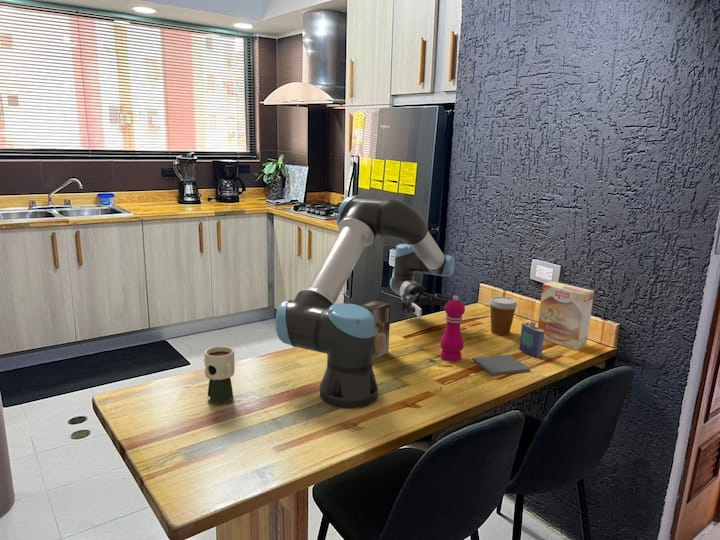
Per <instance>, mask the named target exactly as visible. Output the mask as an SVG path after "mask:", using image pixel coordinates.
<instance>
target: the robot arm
mask: <svg viewBox="0 0 720 540" xmlns="http://www.w3.org/2000/svg"><path fill="white" fill-rule="evenodd" d="M337 210H338V213H337V215H336V224H337V227H338V228H337V229H338V232H339V233H338V235H337V236H336V238H335V240H334V242H333V244H332V245H331V247H330V248H329V250H328V252H327V253H326V255H325V257H324V259H323V260H322V262H321V264H320V266H319V267H318V269H317V271H316V272H315V274H314V276H313V278H312V280H311V281H310V283H309V285H308V286H307V288H304V289H301V290H299V291H298V293H297V294H296V296H295V297H294V299H286V300H284V301H282V302H281V303H280V304H279V306H278V308H277V310H276V314H275V331H276V335H277V337H278V339H279V341H281V342H282V343H283V344H286V345H289V346H291V347H294V348H300V349H304V350H309V351H313V352H317V353H322V354H326V356H327V357H326V359H327V360H326V369H325V371H324V374H323V377H322V379H321V382H320V385H319V397H320V399H321V400H322V402H324V403H326V404H327V405H329V406H332V407H336V408H339V409H359V408H365V407H368V406H370V405H373V404H374V403H375V402H377V400H378V398H379V397H378V396H379V385H378V382H377V379H376V375H375V373H374V369H373V366H374V365H373V361H374V360H373V347H374V334H375V328H374V317H373V315H372V314H371V312H370V311H369V310H367V309H365V308H363V307H361V306H360V305H358V304H354V303H344V302H339V303H336V302H337V300H338V298H339V296H340V294H341V292H342V291H343V289H344V287H345V285H346V283H347V281H348V280H349V277H350V275H351V274H352V271H353V270H354V268H355V267H356V264H357V262H358V260H359V258H360V257H361V255H362V253H363V251H364V250H365V248H367V247H369V246H372V244H373V243H374V241H375V239H376V237H380V238H388V239H390V238H391V239H396V240H400V242H402V243H399V244H397V245H396V246H395V253H394V271H393V272H394V273H393V275H392V276H391V278H390V280H389V287H390V288H391V291H393V292H394V293H395V294H396V295H398V296H399V297H401V298H400V299H401V302H400V303H401V307H400V310H401V311H405V310H406V313H409V314H410V313H413V314H414V315H415V316H416V317H418V318H422V313H423V312H422V308H421V307H419V306H422V305H427V306H428V305H430V306H434V305H436V306H441V307H445V305H446V303H447V302H449V301H451V300H453V297H450V296H446V295H443V294H440V293H437V292H435V293H434V294H431V293H428V291H427V289H426V288H425V286H423V285H421V284H419V283H418V282H416V281H415V273H421V274H425V275H433V276H440V277H452V275H453V274H454V271H455V267H456V265H455V264H456V260H455V259H456V258H454V256H452V255H448V254H444V253H443V252H442V250H441V248H440V247H439V245H438V244H437V243H436V240H435V239H434V238H433V236H432V235H431V233H430V231H429V226H428V223H427V221H426V220H425V217H424V216H422V214H421V213H419V211H417V210H416V209H415V208H414V207H412V206H411V205H409V204H408V203H407V202H404V201H401V200H399V199H396V198H384V197H377V196H376V197H373V196H367V195H351V196H348V197H346V198H345V199H344V200H343V201H342V202H341V204H340V205H339V207H338V209H337Z"/></svg>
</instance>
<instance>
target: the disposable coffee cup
mask: <svg viewBox="0 0 720 540" xmlns="http://www.w3.org/2000/svg"><path fill="white" fill-rule="evenodd" d="M488 303H489V306H490V307H489V308H490V309H489V310H490V332H491V333H492V334H494V335H495V336H496V335H497V336H509V335H510V332H511V327H512V323H513V319H514V315H515V312H516V309H517V307H518V304H517V300H516V299H515V298H511V297H508V296H493V297H491V298H490V300H489V301H488Z"/></svg>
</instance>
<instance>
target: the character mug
mask: <svg viewBox="0 0 720 540" xmlns="http://www.w3.org/2000/svg"><path fill="white" fill-rule="evenodd" d="M203 357H204V359H203V361H204V367H205V368H204V374H205V378H206V379H209V380H208V387H207V388H208V389H207V398H209V403H210V404H211V403H212V404H223V403H226V402H228V401H231V400H232V399H233V398H234V392H233V386H232V380H231V378H232V377H233V376H234V375H235V350H234V347H230V346H227V345H226V346H225V345H218V346H212V347H209V348H207V349H206V350H204V356H203Z"/></svg>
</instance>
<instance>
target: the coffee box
mask: <svg viewBox="0 0 720 540" xmlns="http://www.w3.org/2000/svg"><path fill="white" fill-rule="evenodd" d="M391 304H392V303H388V302H385V301H379V300H375V299H374V300H371V301H368V302H366V303H363V304H360V305H359V306H361V307H363V308H365V309H367V310H369V311H370V312H371V314H372V315H373V317H374V328H375V334H374V347H373V361H374V360H376V359H377V358H379V357H382V356H384V355H386V354H388V353H389V347H390V346H389V345H390V344H389V343H390V329H391V327H390V325H391V322H390V321H391Z"/></svg>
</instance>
